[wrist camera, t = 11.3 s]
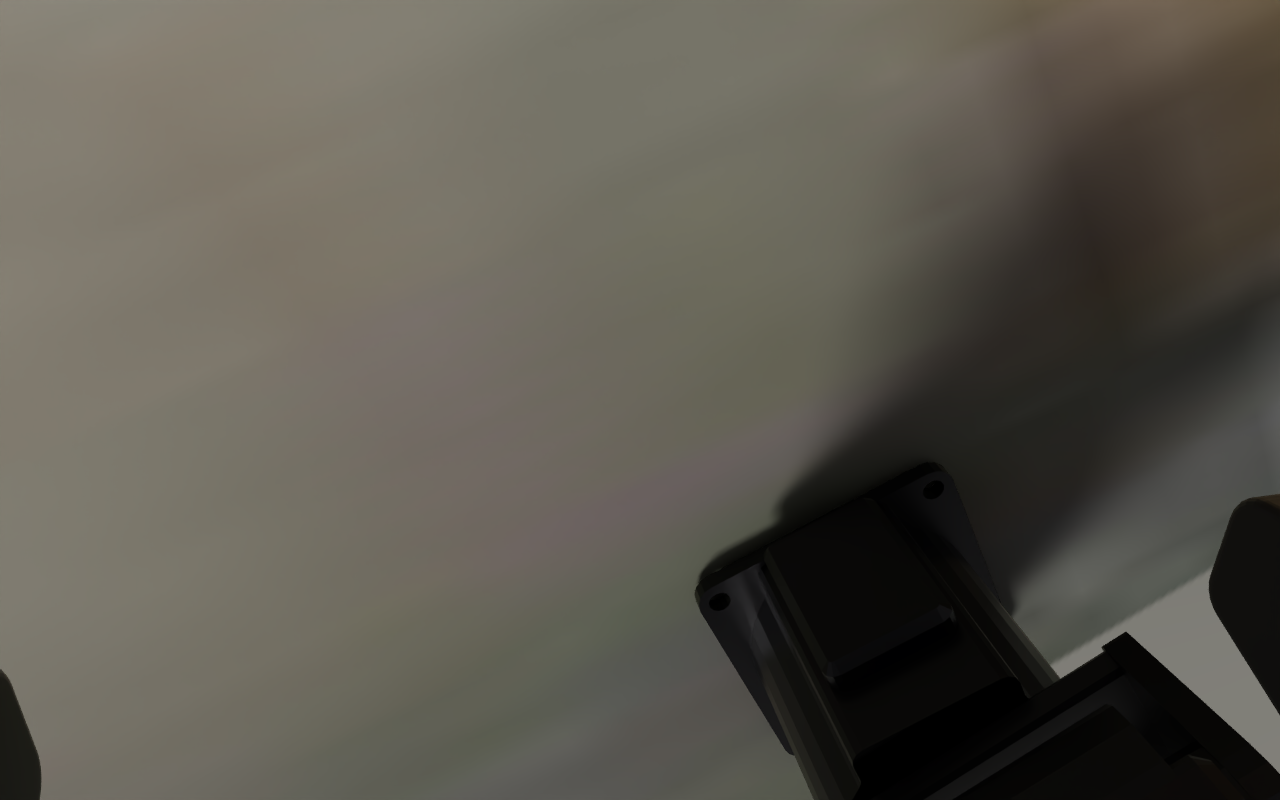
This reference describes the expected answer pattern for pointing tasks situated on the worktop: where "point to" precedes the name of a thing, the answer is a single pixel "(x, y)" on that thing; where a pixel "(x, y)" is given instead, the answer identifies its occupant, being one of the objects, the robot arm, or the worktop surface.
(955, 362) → the worktop surface
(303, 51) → the worktop surface
